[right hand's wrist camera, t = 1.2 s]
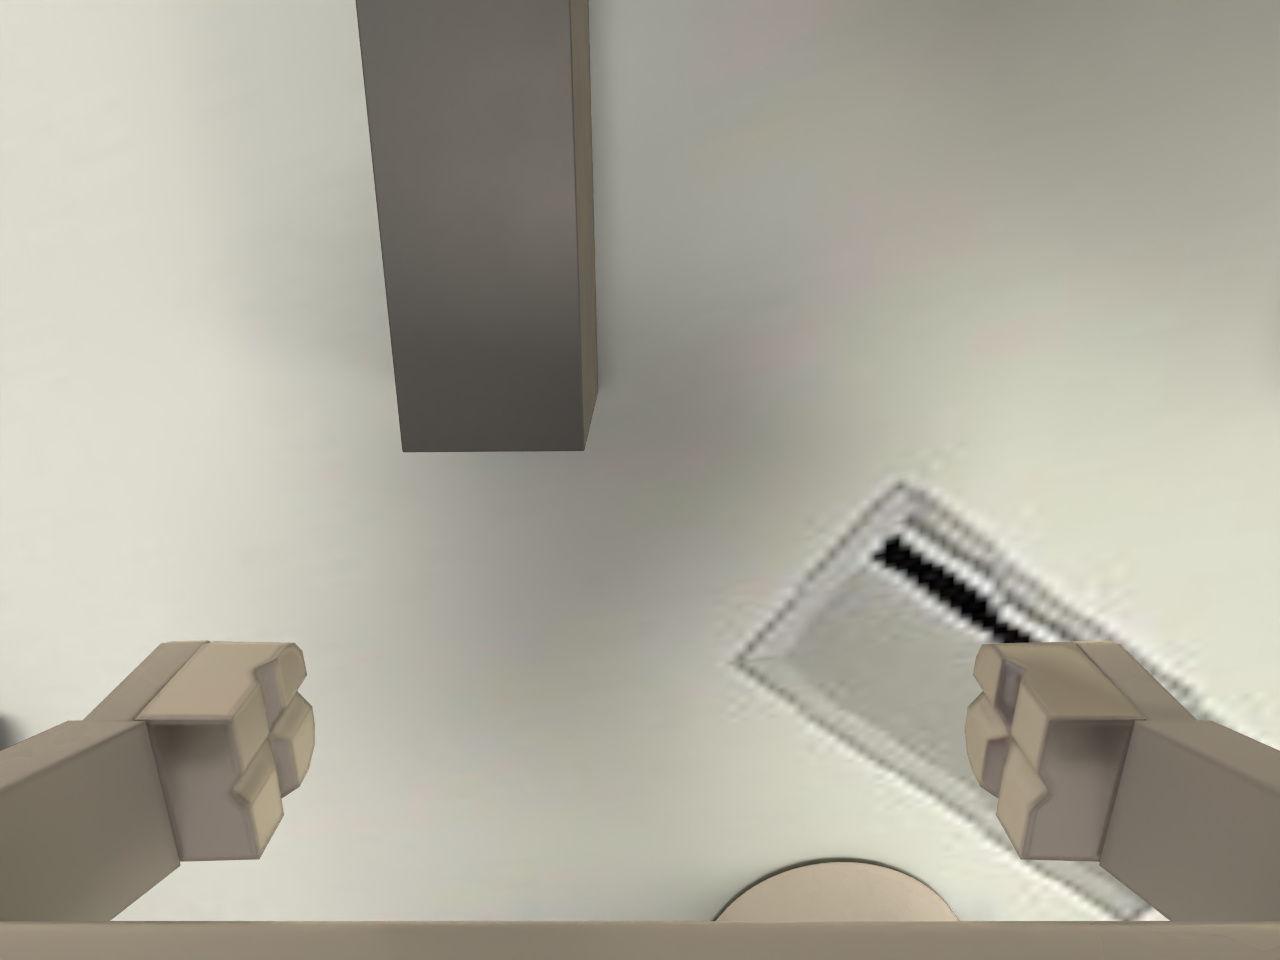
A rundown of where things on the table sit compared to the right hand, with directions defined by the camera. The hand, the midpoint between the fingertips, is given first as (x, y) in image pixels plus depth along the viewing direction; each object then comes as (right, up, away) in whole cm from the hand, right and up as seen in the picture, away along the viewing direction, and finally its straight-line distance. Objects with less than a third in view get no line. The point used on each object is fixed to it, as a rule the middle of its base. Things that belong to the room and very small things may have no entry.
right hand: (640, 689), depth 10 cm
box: (-5, +19, +21) cm, 29 cm away
